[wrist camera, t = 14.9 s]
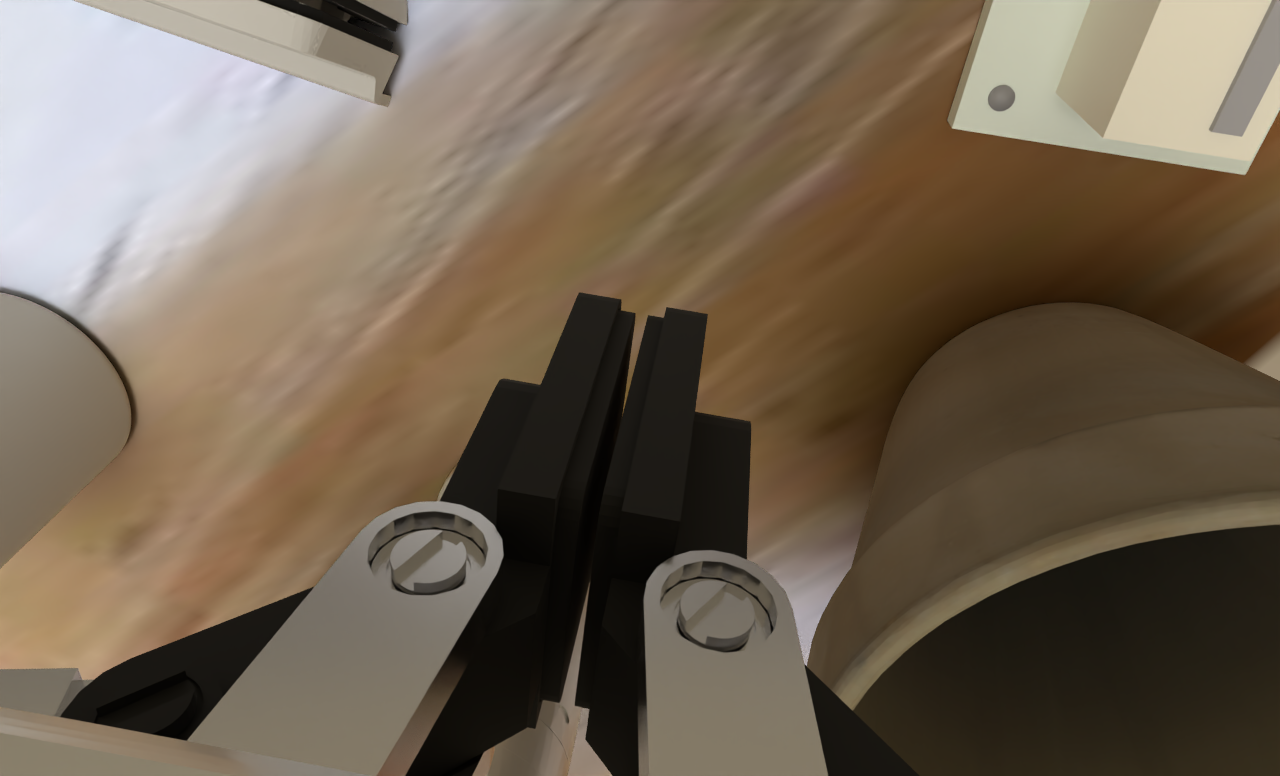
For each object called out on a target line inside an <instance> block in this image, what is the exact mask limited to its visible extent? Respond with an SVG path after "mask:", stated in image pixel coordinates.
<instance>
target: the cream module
mask: <svg viewBox="0 0 1280 776" xmlns="http://www.w3.org/2000/svg"><path fill="white" fill-rule="evenodd" d="M1056 94H1057V95H1058V96H1059V97H1060V98H1061V99H1062V100H1063V101H1064V102H1066V103H1067V104H1068V105H1069V106H1070V107H1071V108H1072V109H1073V110H1074V111H1075V112H1076V113H1077V114H1078V115H1079V116H1080V117H1081V118H1082V119H1083V120H1084V121H1085V122H1087V123H1088V124H1089V125H1090V126H1091V127H1092V128H1093V129H1094V130H1095V131H1096V132H1097V133H1098V134H1099V135H1100V136H1101V137H1102V138H1105V139H1112V140H1118V141H1124V142H1131V143H1137V144H1143V145H1150V146H1156V147H1162V148H1169V149H1175V150H1181V151H1188V152H1194V153H1200V154H1207V155H1213V156H1219V157H1226V158H1232V159H1238V160H1244V161H1251V160H1252V158H1253V156H1254V154H1255V152H1256V151H1257V149H1258V147H1259V145H1260V143H1261V141H1262V139H1263V137H1264V135H1265V134H1266V132H1267V130H1268V128H1269V126H1270V124H1271V122H1272V120H1273V118H1274V116H1275V115H1276V113H1277V111H1278V109H1279V107H1280V0H1091V1H1090V3H1089V6H1088V9H1087V11H1086V14H1085V17H1084V19H1083V22H1082V24H1081V27H1080V30H1079V32H1078V35H1077V38H1076V40H1075V43H1074V45H1073V48H1072V51H1071V53H1070V56H1069V59H1068V61H1067V64H1066V66H1065V69H1064V72H1063V74H1062V77H1061V79H1060V82H1059V85H1058V87H1057V90H1056Z"/></svg>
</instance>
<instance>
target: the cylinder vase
mask: <svg viewBox="0 0 1280 776" xmlns="http://www.w3.org/2000/svg"><path fill="white" fill-rule="evenodd" d="M130 428H131V408H130V403H129V399H128V396H127V393H126V390H125V387H124V385H123V383H122V381H121V379H120V377H119V375H118V373H117V372H116V370H115V368H114V367H113V365H112V364H111V362H110V361H109V360H108V358H107V357H106V356H105V355H104V353H103V352H102V351H101V350H100V349H99V348H98V347H97V346H96V345H95V344H94V343H93V342H92V341H91V340H90V339H89V338H88V337H87V336H86V335H85V334H84V333H83V332H81V331H80V330H79V329H78V328H76V327H75V326H74V325H73V324H71V323H70V322H68V321H67V320H65V319H64V318H62V317H61V316H59V315H58V314H56V313H54V312H52V311H51V310H49V309H47V308H45V307H43V306H41V305H39V304H36V303H34V302H32V301H29V300H26V299H23V298H20V297H17V296H14V295H10V294H6V293H0V568H2V567H3V566H4V565H5V564H6V563H7V562H8V561H9V560H10V559H11V558H12V557H13V556H14V555H15V554H16V553H17V552H18V551H19V550H20V549H21V548H22V547H23V546H24V545H25V544H26V543H27V542H28V541H30V540H31V539H32V538H33V537H34V536H35V535H36V534H37V533H38V532H39V531H40V530H41V529H42V528H43V527H44V526H45V525H46V524H47V523H48V522H49V521H50V520H51V519H52V518H53V517H54V516H55V515H56V514H57V513H59V512H60V511H61V510H62V509H63V508H64V507H65V506H66V505H67V504H68V503H69V502H70V501H71V500H72V499H73V498H74V497H75V496H76V495H77V494H78V493H79V492H80V491H81V490H82V489H83V488H84V487H85V486H87V485H88V484H89V483H90V482H91V481H92V480H93V479H94V478H95V477H96V476H97V475H98V474H99V473H100V472H101V471H102V470H103V469H104V468H105V467H106V466H107V465H108V464H109V463H110V462H111V461H112V460H113V459H115V458H116V457H117V455H118V454H119V453H120V452H121V450H122V449H123V447H124V446H125V444H126V442H127V439H128V437H129V433H130Z"/></svg>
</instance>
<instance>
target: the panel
mask: <svg viewBox="0 0 1280 776" xmlns="http://www.w3.org/2000/svg"><path fill="white" fill-rule="evenodd" d="M1090 1H1091V0H985V3H984V6H983V9H982V12H981V15H980V19H979V22H978V25H977V28H976V31H975V34H974V37H973V41H972V44H971V47H970V50H969V53H968V56H967V59H966V63H965V66H964V69H963V72H962V75H961V78H960V81H959V85H958V88H957V91H956V94H955V97H954V100H953V103H952V107H951V110H950V113H949V116H948V119H947V121H948V122H949V124H950V126H951V128H952V129H959V130H965V131H971V132H978V133H984V134H990V135H996V136H1003V137H1009V138H1015V139H1022V140H1028V141H1034V142H1041V143H1047V144H1053V145H1059V146H1066V147H1072V148H1078V149H1085V150H1091V151H1097V152H1103V153H1110V154H1116V155H1122V156H1129V157H1135V158H1141V159H1147V160H1154V161H1160V162H1166V163H1173V164H1179V165H1185V166H1192V167H1198V168H1204V169H1210V170H1217V171H1223V172H1229V173H1236V174H1242V175H1246V173H1247V171H1248V169H1249V167H1250V165H1251V163H1252V161H1253V159H1254V158H1255V156H1256V154H1257V152H1258V150H1259V148H1260V146H1261V144H1262V142H1263V141H1264V139H1265V137H1266V135H1267V133H1268V131H1269V129H1270V127H1271V125H1272V124H1273V122H1274V120H1275V118H1276V116H1277V114H1278V112H1279V110H1280V107H1279V109H1278V111H1277V113H1276V115H1275V116H1274V118H1273V120H1272V122H1271V124H1270V126H1269V128H1268V130H1267V132H1266V134H1265V135H1264V137H1263V139H1262V141H1261V143H1260V145H1259V147H1258V149H1257V151H1256V152H1255V154H1254V156H1253V158H1252V160H1251V161H1244V160H1238V159H1232V158H1226V157H1219V156H1213V155H1207V154H1200V153H1194V152H1188V151H1181V150H1175V149H1169V148H1162V147H1156V146H1150V145H1143V144H1137V143H1131V142H1124V141H1118V140H1112V139H1105V138H1102V137H1101V136H1100V135H1099V134H1098V133H1097V132H1096V131H1095V130H1094V129H1093V128H1092V127H1091V126H1090V125H1089V124H1088V123H1087V122H1085V121H1084V120H1083V119H1082V118H1081V117H1080V116H1079V115H1078V114H1077V113H1076V112H1075V111H1074V110H1073V109H1072V108H1071V107H1070V106H1069V105H1068V104H1067V103H1066V102H1064V101H1063V100H1062V99H1061V98H1060V97H1059V96H1058V95H1057V94H1056V90H1057V87H1058V85H1059V82H1060V79H1061V77H1062V74H1063V72H1064V69H1065V66H1066V64H1067V61H1068V59H1069V56H1070V53H1071V51H1072V48H1073V45H1074V43H1075V40H1076V38H1077V35H1078V32H1079V30H1080V27H1081V24H1082V22H1083V19H1084V17H1085V14H1086V11H1087V9H1088V6H1089V3H1090Z"/></svg>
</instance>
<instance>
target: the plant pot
mask: <svg viewBox="0 0 1280 776" xmlns="http://www.w3.org/2000/svg"><path fill="white" fill-rule="evenodd" d="M807 667H808V668H809V669H810V670H811V671H812V672H813V673H814V674H815V675H816V676H817V677H818V678H819V679H820V680H821V681H822V682H823V683H824V684H825V685H826V686H828V687H829V688H830V689H831V690H832V691H833V692H834V693H835V694H836V695H837V696H838V697H839V698H840V699H841V700H842V701H843V702H844V703H845V704H846V705H847V706H848V707H849V708H850V709H851V710H852V711H853V712H854V713H855V714H856V715H857V716H859V717H860V718H861V719H862V720H863V721H864V722H865V723H866V724H867V725H868V726H869V727H870V728H871V729H872V730H873V731H874V732H875V733H876V734H877V735H878V736H879V737H880V738H881V739H882V740H883V741H884V742H885V743H886V744H887V745H888V746H890V747H891V748H892V749H893V750H894V751H895V752H896V753H897V754H898V755H899V756H900V757H901V758H902V759H903V760H904V761H905V762H906V763H907V764H908V765H909V766H910V767H911V768H912V769H913V770H914V771H915V772H916V773H917V774H918V775H919V776H1280V381H1278V380H1276V379H1274V378H1272V377H1270V376H1268V375H1266V374H1264V373H1262V372H1260V371H1257V370H1255V369H1253V368H1251V367H1249V366H1247V365H1245V364H1243V363H1241V362H1239V361H1237V360H1234V359H1232V358H1230V357H1228V356H1226V355H1224V354H1222V353H1220V352H1218V351H1215V350H1213V349H1211V348H1209V347H1207V346H1205V345H1203V344H1201V343H1199V342H1196V341H1194V340H1192V339H1190V338H1188V337H1186V336H1183V335H1181V334H1179V333H1177V332H1175V331H1172V330H1170V329H1168V328H1166V327H1164V326H1161V325H1159V324H1157V323H1154V322H1152V321H1150V320H1147V319H1145V318H1143V317H1140V316H1137V315H1134V314H1131V313H1128V312H1125V311H1123V310H1120V309H1117V308H1113V307H1109V306H1103V305H1097V304H1091V303H1076V302H1068V303H1049V304H1042V305H1034V306H1029V307H1025V308H1020V309H1016V310H1012V311H1009V312H1006V313H1003V314H1000V315H997V316H995V317H993V318H990V319H988V320H985V321H983V322H981V323H979V324H977V325H975V326H973V327H971V328H969V329H967V330H965V331H964V332H962V333H961V334H959V335H958V336H956V337H955V338H953V339H951V340H950V341H949V342H948V343H946V344H945V345H944V346H943V347H941V348H940V349H939V350H938V351H937V352H936V353H934V354H933V355H932V356H931V357H930V358H929V359H928V360H927V361H926V363H925V364H924V365H923V366H922V367H921V368H920V369H919V371H918V372H917V373H916V375H915V376H914V378H913V379H912V380H911V382H910V384H909V385H908V387H907V389H906V390H905V392H904V394H903V396H902V398H901V400H900V402H899V405H898V407H897V410H896V412H895V414H894V417H893V420H892V423H891V425H890V428H889V431H888V434H887V438H886V441H885V445H884V448H883V452H882V456H881V460H880V464H879V467H878V471H877V475H876V479H875V482H874V486H873V490H872V494H871V497H870V501H869V505H868V509H867V512H866V516H865V520H864V523H863V527H862V531H861V534H860V538H859V542H858V546H857V549H856V553H855V557H854V560H853V564H852V568H851V569H850V570H849V571H848V573H847V574H846V576H845V577H844V579H843V580H842V582H841V584H840V585H839V587H838V588H837V590H836V591H835V593H834V594H833V596H832V598H831V600H830V601H829V603H828V605H827V607H826V609H825V611H824V612H823V614H822V617H821V619H820V621H819V624H818V626H817V628H816V631H815V634H814V637H813V640H812V644H811V649H810V654H809V658H808V663H807Z"/></svg>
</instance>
